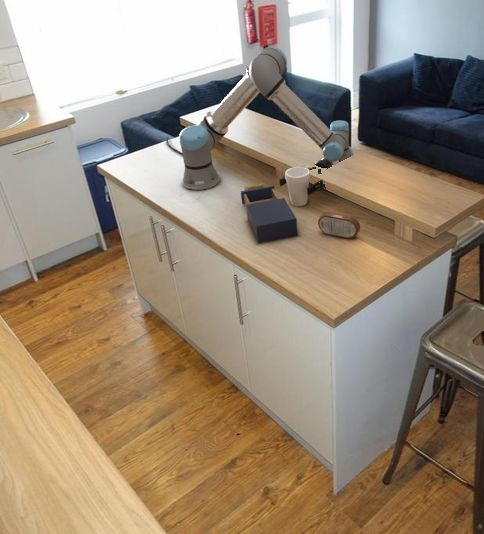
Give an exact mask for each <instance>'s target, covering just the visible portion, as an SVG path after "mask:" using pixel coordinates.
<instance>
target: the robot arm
mask: <svg viewBox="0 0 484 534" xmlns="http://www.w3.org/2000/svg"><path fill="white" fill-rule="evenodd" d="M287 67H288V60H287V57H286V54H285V53H284V52H283V51H282V50H281V48H278V47H276V46H267V47H265V48H263V49H261V51H260V52H259V53H258V54H257V55H256V56H255V57H254V58H253V59H252V60H251V62H250V64H248V66H247V67H246V68H245V70H246V73H245V75H244V76H243V77H242V78H241V80H240V81H239V82H238V83H237V84H236V85H235V86H234V87H233V88H232V89H231V91H230V92H229V93H228V94H227V95H226V96H225V97H224V99H223V100H222V101H221V102H220V103H219V104H218V105H217V107H215V109H214V110H213V111H207V112H206V113H205V115H203V117H202V118H200V120H199V121H198V122H197V124H193V125H190V126H188V127H185V128H183V129H182V130H181V131H180V133H179V145H180V149H181V151H180V150H178V149H176V148H175V147H173V146H172V145H171V144H170V143H169V137H166V144H167V146H168V147H169V148H170V149H171V150H173V151H175V152H177V153H178V154H180V155H182V160H183V164H184V171H183V178H182V183H183V186H184V188H186V189H187V190H190V191H191V190H192V191H203V190H209V189H211V188H215V186H216V185H218V184H219V182H220V177H219V173H218V172H217V169H216V168H215V166H214V164H213V160H212V151H213V149H214V148H215V147H216V145H217V144H218V143H219V142H220V141H221V140H222V139H223V138H224V137H225V136H226V135H227V134H228V132H229V126H230V125H231V124H232V123H233V122H234V120H236V119H237V118H238V117H239V115H240V114H241V113H242V112H243V111H244V110H245V109H246V108H247V107H248V105H249V104H250V103H252V101H253V100H254V99H255V98H256V97H257V96H258V95H259V94H260V93H261V95H262V96H263V97H264V98H266V99H267V100H268V101H273V103H274V104H275V105H277V106H278V108H279V109H280V110H281V111H282V112H283V113H284V114H286V115H287V116H288V117H289V119H290V120H292V121H293V123H295V124H296V126H298V128H299V129H301V130H302V132H304V134H306V135H307V136H308V137H309V138H310V139H311V140H312V141H313V142H314V143H315V145H317V146H318V147H319V148H320V149H321V150H322V155H323V157H322V158H320V159H319V160H318V161H316V162H315V163H314V165H316V166H318V167H321V168H327V169H328V168H330V167H332V165H336V164H337V163H339V162H341V161H343V160H345V159H347V158H349V157H351V156H353V155H354V156H355V154H354V151H353V149H352V148H351V147H350V141H349V140H350V124H349V122H348V121H346V120H342V119H341V120H339V119H338V120H334V121H332V122H331V123H330V126H329V127H330V128H329V127H328V126H327V125H326V124H325V122H323V121H322V120H321V119H320V117H318V116H317V115H316V114H315V113H314V112H313V111H312V109H310V108H309V107H308V106H307V104H305V102H303V100H301V98H300V97H298V96H297V94H296V93H295V92H294V91H293V90H291V89H290V87H288V85H287V84H286V80H285V79H284V78H283V77H282V75H283V74H284V73H285V72H286V69H287ZM311 167H312V168H311ZM311 167H308V169H309V170H312V169H316V167H313V166H311ZM318 174H322V173H321V169H318ZM319 182H320V183H319ZM323 183H324V179H322V180H320V181H319V180H318V181H316V182H315V183H313V184H311V185H309V187H308V188H307V195H308V196H310V195H311V194H313V193H315V192H317V191H319V190H320V189H325V190H327V189H326V187H325V184H323ZM285 185H287V181H286V179H285V175H284V176H283V177H281V178H280V179H279V186H280V187H283V186H285Z"/></svg>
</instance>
